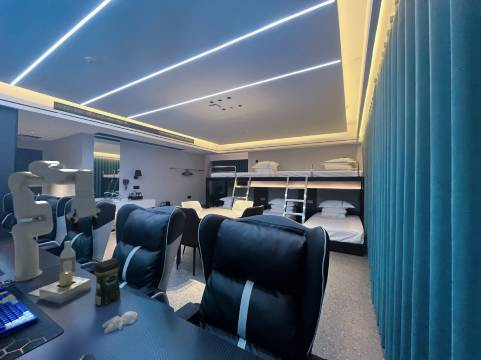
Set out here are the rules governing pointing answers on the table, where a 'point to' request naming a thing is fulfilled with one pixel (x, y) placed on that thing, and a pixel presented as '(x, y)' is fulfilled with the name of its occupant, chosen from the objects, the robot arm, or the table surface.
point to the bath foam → (68, 259)
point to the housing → (64, 290)
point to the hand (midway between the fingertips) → (84, 228)
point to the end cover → (66, 278)
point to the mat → (36, 292)
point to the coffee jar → (107, 282)
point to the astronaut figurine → (120, 321)
